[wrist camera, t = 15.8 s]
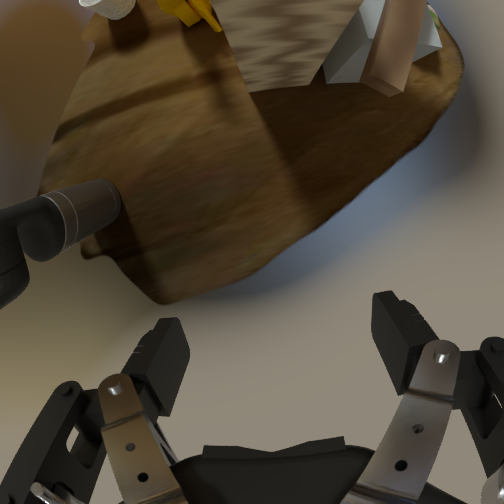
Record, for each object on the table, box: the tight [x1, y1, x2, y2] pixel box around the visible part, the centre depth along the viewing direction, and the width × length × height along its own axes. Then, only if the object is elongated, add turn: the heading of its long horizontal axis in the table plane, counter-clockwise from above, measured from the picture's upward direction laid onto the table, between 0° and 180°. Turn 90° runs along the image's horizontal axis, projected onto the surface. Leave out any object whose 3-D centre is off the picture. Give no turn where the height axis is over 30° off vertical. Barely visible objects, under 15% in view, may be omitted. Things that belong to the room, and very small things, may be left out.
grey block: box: [322, 0, 442, 84], centre depth 26 cm, size 9×18×22 cm, turn 9°
